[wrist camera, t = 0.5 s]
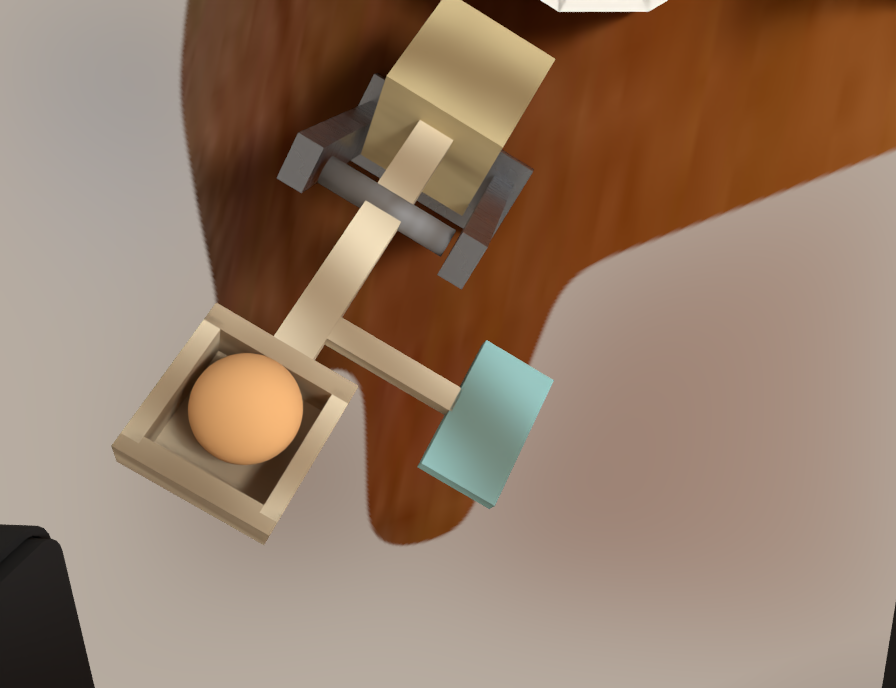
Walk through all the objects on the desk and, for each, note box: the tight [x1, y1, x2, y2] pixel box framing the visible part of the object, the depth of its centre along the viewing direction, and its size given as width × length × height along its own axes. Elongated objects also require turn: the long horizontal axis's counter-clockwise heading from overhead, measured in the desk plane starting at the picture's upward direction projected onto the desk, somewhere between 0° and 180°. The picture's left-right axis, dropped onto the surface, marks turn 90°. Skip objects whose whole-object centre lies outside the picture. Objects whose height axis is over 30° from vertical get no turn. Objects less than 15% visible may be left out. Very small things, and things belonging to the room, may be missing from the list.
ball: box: [188, 353, 303, 465], centre depth 26 cm, size 4×4×4 cm
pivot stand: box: [277, 73, 534, 289], centre depth 37 cm, size 4×9×12 cm, turn 60°
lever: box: [112, 0, 555, 545], centre depth 33 cm, size 23×12×6 cm
